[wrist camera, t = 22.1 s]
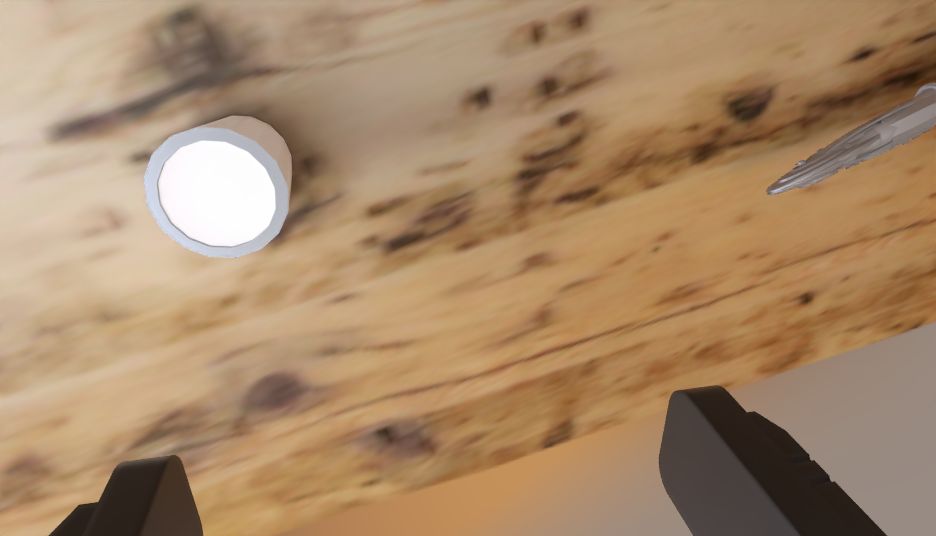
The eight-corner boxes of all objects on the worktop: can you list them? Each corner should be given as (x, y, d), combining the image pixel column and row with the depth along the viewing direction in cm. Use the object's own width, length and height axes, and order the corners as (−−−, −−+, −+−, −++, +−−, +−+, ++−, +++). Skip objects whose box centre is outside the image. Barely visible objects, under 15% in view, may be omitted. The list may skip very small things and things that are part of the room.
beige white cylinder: (289, 97, 34) (270, 118, 28) (313, 207, 37) (302, 248, 30) (168, 111, 33) (121, 136, 27) (203, 222, 36) (168, 268, 30)
